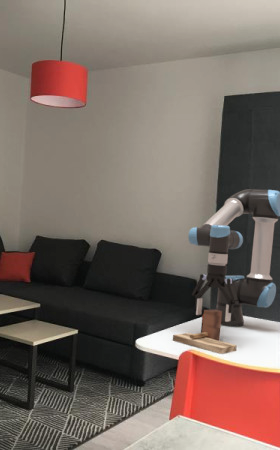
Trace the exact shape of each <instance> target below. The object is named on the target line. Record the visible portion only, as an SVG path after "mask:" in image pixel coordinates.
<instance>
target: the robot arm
mask: <svg viewBox="0 0 280 450" xmlns="http://www.w3.org/2000/svg"><path fill="white" fill-rule="evenodd" d="M243 214H244V215H245V214H247V215H248V214H249V215H252V219H253V220H254V222H255V224H254V234H253V243H252V254H251V263H250V272H249V274H247V275H246V279H245V275H227V272H228V271H227V270H228V269H227V268H228V267H227V264H228V258H229V256H228V255H229V250H236V249H239V248H241V247H242V244H243V243H244V237H243V235H242V233H240V232H239V231H236V230H231V227H230V226H229V225H230V223H231V222H232V221H234V219H235V218H238V217H240V216H242V215H243ZM279 217H280V191H279V190H274V189H273V190H272V189H254V188H253V189H251V188H249V189H244V190H241V191H238V192H236V193H234V194H233V195H231V196H230V197H228V198H227V199H226V200H225V201H224V204H223V206H222V207H221V208H220V209H219V210H217V211H216V212H215V213H214V214H213V215H212V216H210V218H209V219H208V220H206V222H204V224H203V225H201V226H200V227H197V226H196V227H192V228H191V229H189V230H188V237H187V238H188V242H189V243H190V245H193V246H199V247H208V256H207V259H208V260H207V262H208V264H207V268H206V272H207V274H205V273H203V274H200V275H199V279H198V281H197V283H196V285H195V287H194V288H193V291H192V293H191V295H192V296H193V297H194V298H195V304H194V305H195V307H196V308H195V309H196V311H195V315H196V316H199V315H201V316H202V311H203V298H202V297H203V296H204V294H205V293H206V292H207V291H209V289H210V288H215V289H218V290H217V300H216V301H217V302H216V307H215V309H214V310H218V311H222V317H221V326H225V327H226V326H227V327H236V328H237V327H243V326H244V325H245V323H244V322H245V318H244V315H243V310H242V308H243V307H242V305H245V306H246V305H247V306H253V307H258V308H265V309H267V308H269V307H270V306H271V305H273V302H274V300H275V297H276V293H277V286H276V284H275V283H274V282H273V277H272V276H271V275H270V272H271V261H272V252H273V241H274V231H275V223H277V222H278V220H279ZM205 281H207V282H206V283H205ZM203 285H204V286H203Z"/></svg>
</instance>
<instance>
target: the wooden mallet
mask: <svg viewBox="0 0 280 450" xmlns="http://www.w3.org/2000/svg"><path fill="white" fill-rule="evenodd" d="M203 314H204V316H203V326H202V333H201V332H197V333H191V335H190V338H192V339H195V338H200V337H207V338H211V339H215V340H219V341H220V336H221V328H222V327H221V326H222V325H221V317H222V311H218V310H215V309H213V308H212V309H211V308H210V309H203Z"/></svg>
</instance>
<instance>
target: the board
mask: <svg viewBox="0 0 280 450" xmlns="http://www.w3.org/2000/svg"><path fill="white" fill-rule="evenodd" d="M191 334H192V333H191V332H186V333H177V334H173V336H172V341H174V342H178V343H181V344H184V345H187V346H191V347H196V348H199V349H203V350H206V351H210V352H214V353H217V354H221V355H223V354H227V353H232V352H236V351H237V344H233V343H230V342H227V341H223V340H220V339H219V340H215V339H211V338H207V337H200V338H195V339H192V338H190V335H191Z"/></svg>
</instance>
